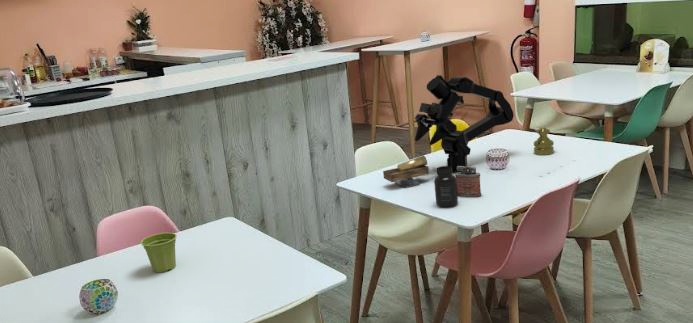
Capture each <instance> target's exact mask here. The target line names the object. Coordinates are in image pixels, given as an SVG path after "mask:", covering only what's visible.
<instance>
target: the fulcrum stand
mask: <svg viewBox="0 0 693 323" xmlns="http://www.w3.org/2000/svg"><path fill="white" fill-rule="evenodd" d="M394 185H396V186H399V187H401V188H403V189H410V188H413V187H418V186H420V185H421V183H420V182H418V181H416V180H414V178H409V179H405V180H400V181H396V182H394Z"/></svg>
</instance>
